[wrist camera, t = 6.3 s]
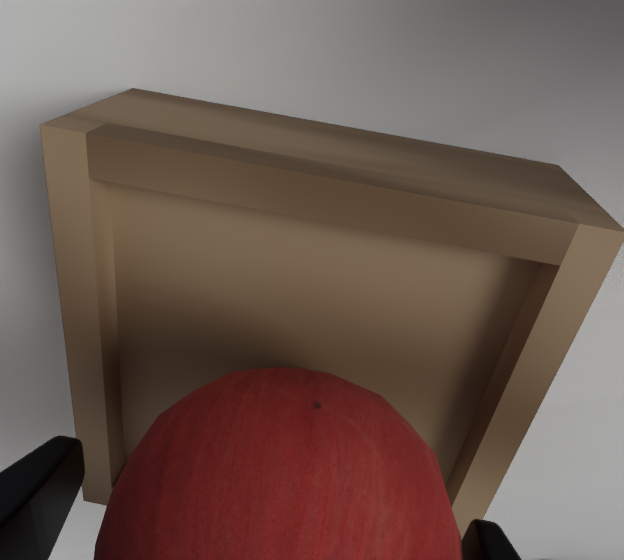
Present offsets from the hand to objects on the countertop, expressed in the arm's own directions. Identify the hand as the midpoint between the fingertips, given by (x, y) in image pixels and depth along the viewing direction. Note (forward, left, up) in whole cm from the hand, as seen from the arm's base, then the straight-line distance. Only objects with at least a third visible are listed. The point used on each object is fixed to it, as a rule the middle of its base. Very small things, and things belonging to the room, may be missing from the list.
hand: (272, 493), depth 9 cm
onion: (0, 0, -3) cm, 3 cm away
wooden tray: (0, 0, -6) cm, 6 cm away
